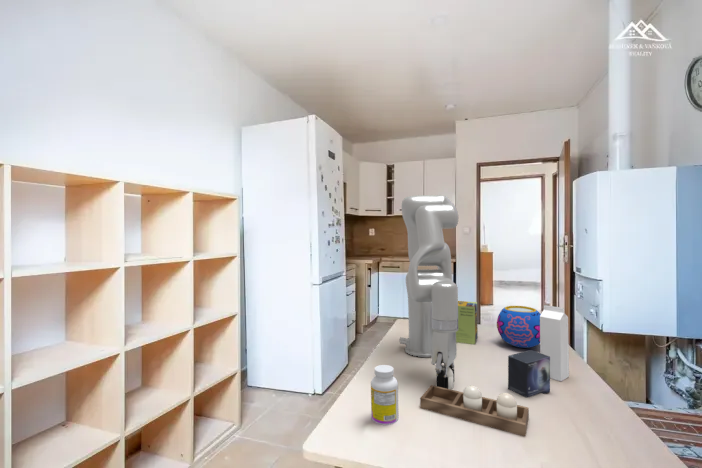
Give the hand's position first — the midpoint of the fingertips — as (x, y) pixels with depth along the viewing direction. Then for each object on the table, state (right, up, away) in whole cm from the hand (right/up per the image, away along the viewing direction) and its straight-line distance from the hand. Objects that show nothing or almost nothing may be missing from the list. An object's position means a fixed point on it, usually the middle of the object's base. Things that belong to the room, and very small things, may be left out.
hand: (445, 385), depth 99 cm
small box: (+23, -1, -3) cm, 23 cm away
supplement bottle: (-19, -2, -16) cm, 25 cm away
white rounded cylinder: (0, -1, 0) cm, 1 cm away
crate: (+3, -1, -15) cm, 15 cm away
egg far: (+9, 0, -19) cm, 21 cm away
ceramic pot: (+40, -1, +36) cm, 54 cm away
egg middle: (+3, 0, -15) cm, 15 cm away
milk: (+37, -1, +8) cm, 38 cm away
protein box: (+18, -1, +46) cm, 50 cm away
